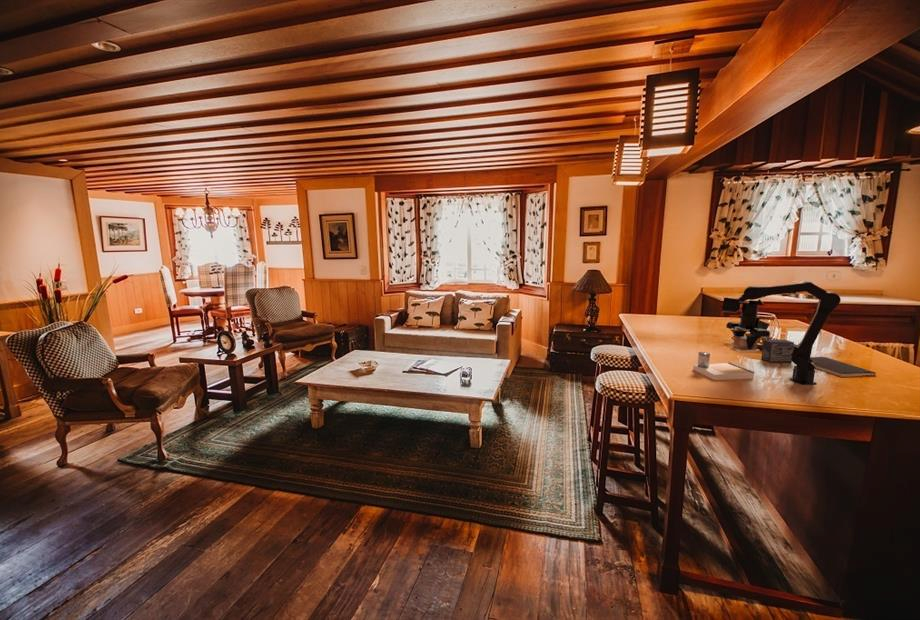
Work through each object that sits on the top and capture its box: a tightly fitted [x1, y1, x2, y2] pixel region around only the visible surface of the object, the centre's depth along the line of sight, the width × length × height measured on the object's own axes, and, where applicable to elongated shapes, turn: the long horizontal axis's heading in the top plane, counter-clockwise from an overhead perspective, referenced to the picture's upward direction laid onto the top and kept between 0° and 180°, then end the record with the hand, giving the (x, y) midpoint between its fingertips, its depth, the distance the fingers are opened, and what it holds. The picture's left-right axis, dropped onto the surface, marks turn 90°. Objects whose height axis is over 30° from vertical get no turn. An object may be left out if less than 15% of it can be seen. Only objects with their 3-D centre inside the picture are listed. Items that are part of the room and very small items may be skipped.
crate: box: [729, 335, 761, 354], centre depth 175 cm, size 6×9×6 cm, turn 92°
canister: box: [696, 351, 711, 368], centre depth 178 cm, size 5×5×6 cm
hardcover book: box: [810, 356, 876, 378], centre depth 180 cm, size 16×23×2 cm
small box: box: [761, 339, 795, 364], centre depth 191 cm, size 11×6×10 cm, turn 84°
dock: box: [692, 361, 755, 381], centre depth 175 cm, size 14×18×3 cm
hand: (744, 347), depth 175 cm, fingers closed on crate, 5 cm apart
